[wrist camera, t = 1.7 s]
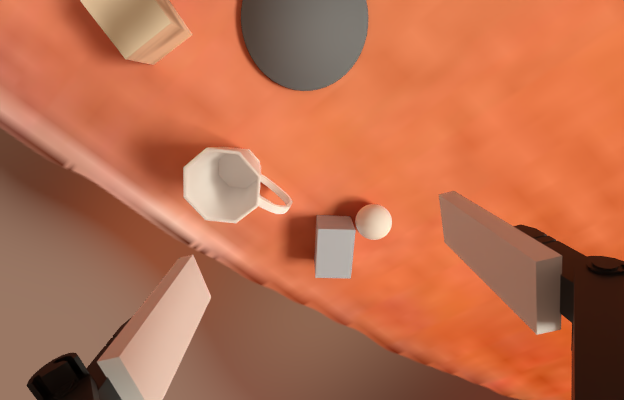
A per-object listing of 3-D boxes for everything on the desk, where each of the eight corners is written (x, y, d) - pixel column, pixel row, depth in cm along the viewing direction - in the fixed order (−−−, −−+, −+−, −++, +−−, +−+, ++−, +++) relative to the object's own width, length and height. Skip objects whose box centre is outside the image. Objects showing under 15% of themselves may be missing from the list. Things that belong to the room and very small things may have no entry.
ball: (350, 203, 35) (355, 216, 31) (384, 195, 35) (393, 207, 31) (356, 233, 36) (362, 249, 32) (388, 226, 36) (398, 241, 32)
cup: (225, 122, 32) (199, 130, 24) (307, 168, 33) (307, 188, 26) (199, 178, 33) (167, 202, 26) (278, 218, 35) (270, 252, 28)
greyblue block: (316, 214, 35) (317, 228, 32) (350, 215, 35) (355, 229, 32) (314, 259, 37) (315, 277, 33) (346, 260, 37) (350, 278, 34)
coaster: (225, -33, 27) (223, -36, 26) (355, -67, 26) (356, -71, 26) (261, 102, 31) (260, 102, 30) (375, 75, 30) (377, 75, 30)
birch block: (117, 16, 28) (80, 0, 24) (157, -17, 27) (126, -41, 23) (154, 65, 30) (125, 59, 25) (193, 34, 29) (171, 22, 24)
